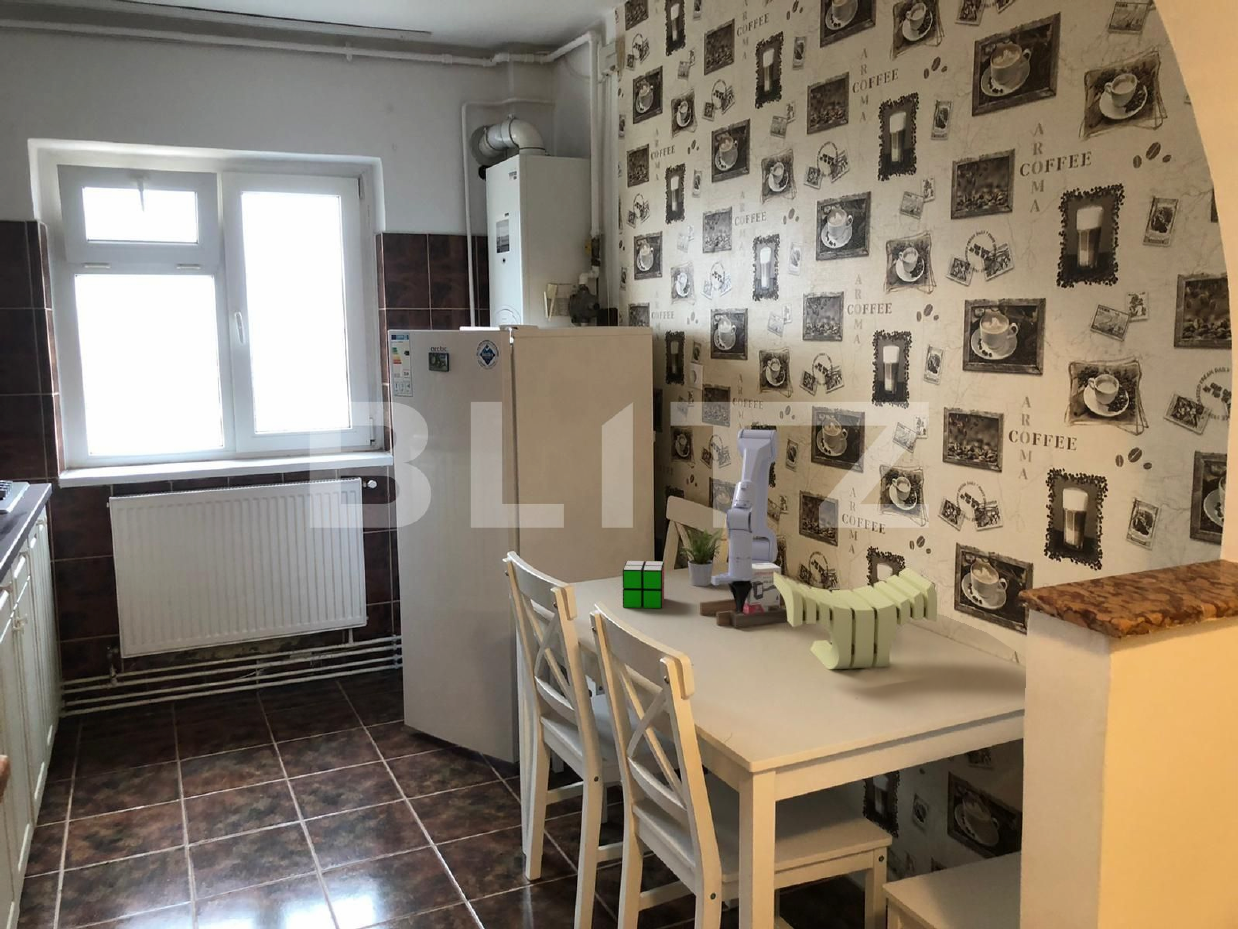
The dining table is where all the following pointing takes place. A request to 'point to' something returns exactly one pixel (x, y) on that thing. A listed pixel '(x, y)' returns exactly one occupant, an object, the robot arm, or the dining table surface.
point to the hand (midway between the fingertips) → (739, 610)
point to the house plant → (701, 558)
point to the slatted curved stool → (859, 616)
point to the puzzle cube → (643, 584)
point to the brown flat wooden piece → (728, 615)
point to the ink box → (762, 589)
